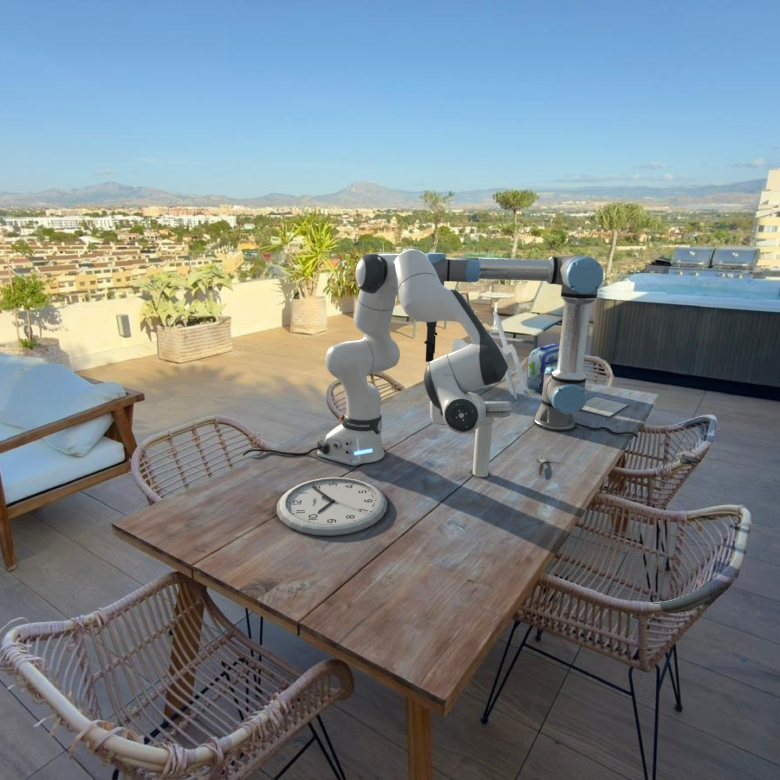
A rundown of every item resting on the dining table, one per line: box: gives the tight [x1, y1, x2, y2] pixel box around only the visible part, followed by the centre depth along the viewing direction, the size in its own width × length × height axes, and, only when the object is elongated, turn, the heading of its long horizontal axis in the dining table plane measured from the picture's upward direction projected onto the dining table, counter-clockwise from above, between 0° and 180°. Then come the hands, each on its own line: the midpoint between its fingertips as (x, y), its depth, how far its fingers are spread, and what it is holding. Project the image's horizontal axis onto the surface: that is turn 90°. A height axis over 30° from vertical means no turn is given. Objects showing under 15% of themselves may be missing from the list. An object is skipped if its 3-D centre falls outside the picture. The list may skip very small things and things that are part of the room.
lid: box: [482, 418, 495, 424], centre depth 157 cm, size 5×5×2 cm
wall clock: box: [276, 476, 388, 537], centre depth 142 cm, size 30×2×30 cm
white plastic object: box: [451, 310, 531, 400], centre depth 245 cm, size 37×45×31 cm
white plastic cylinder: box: [472, 423, 493, 478], centre depth 160 cm, size 5×5×19 cm
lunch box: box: [526, 343, 560, 394], centre depth 248 cm, size 26×11×21 cm, turn 135°
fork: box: [538, 451, 548, 475], centre depth 168 cm, size 3×16×2 cm, turn 160°
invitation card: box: [580, 396, 629, 418], centre depth 226 cm, size 21×1×15 cm
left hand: (471, 407), depth 138 cm, fingers open, 8 cm apart
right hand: (430, 357), depth 190 cm, fingers open, 13 cm apart
